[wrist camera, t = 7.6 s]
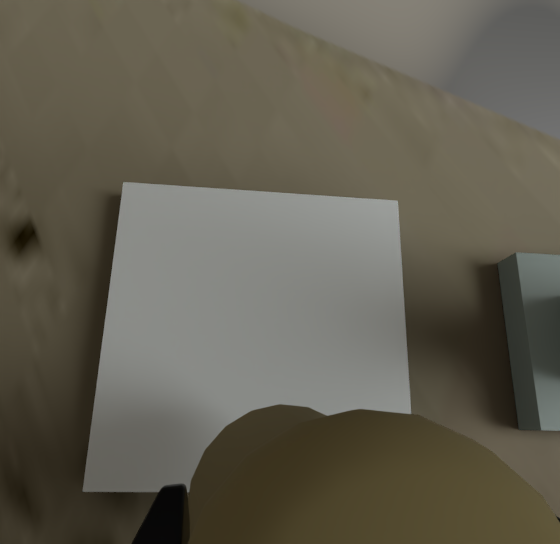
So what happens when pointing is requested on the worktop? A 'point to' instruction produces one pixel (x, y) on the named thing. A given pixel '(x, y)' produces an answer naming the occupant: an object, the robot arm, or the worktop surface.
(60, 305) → the worktop surface
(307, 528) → the cork
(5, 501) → the worktop surface
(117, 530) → the worktop surface
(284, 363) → the arbor press
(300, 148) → the worktop surface
